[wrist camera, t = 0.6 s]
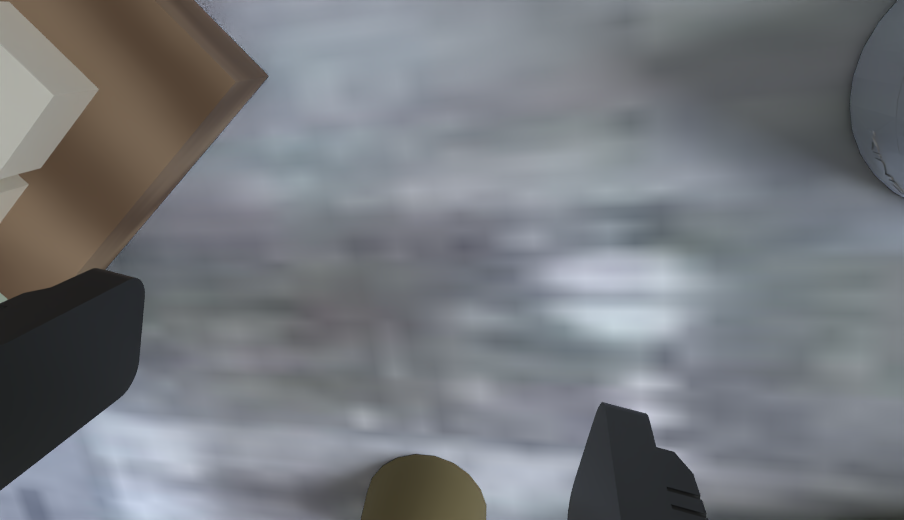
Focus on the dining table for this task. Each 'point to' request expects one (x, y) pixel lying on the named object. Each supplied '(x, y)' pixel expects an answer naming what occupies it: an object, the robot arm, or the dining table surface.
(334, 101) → the dining table surface
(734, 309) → the dining table surface
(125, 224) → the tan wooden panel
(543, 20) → the dining table surface
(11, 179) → the tile
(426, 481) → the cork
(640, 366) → the dining table surface
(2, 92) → the tile
